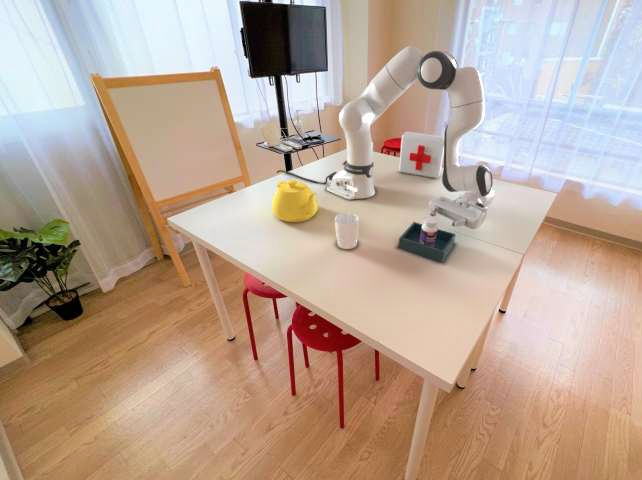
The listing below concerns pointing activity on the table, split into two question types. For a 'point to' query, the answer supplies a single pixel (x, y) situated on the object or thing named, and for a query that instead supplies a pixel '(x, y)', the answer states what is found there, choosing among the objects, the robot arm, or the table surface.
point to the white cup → (346, 230)
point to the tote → (438, 252)
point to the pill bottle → (429, 232)
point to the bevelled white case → (421, 154)
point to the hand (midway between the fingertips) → (442, 219)
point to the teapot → (294, 201)
